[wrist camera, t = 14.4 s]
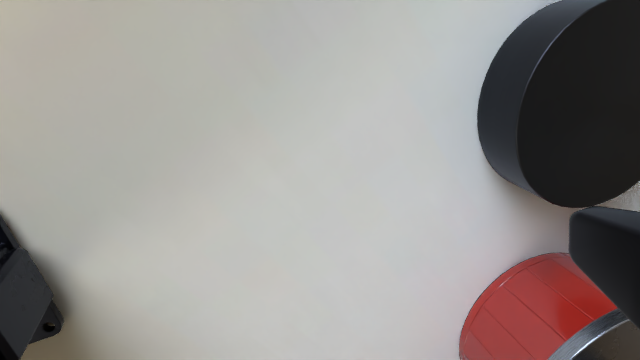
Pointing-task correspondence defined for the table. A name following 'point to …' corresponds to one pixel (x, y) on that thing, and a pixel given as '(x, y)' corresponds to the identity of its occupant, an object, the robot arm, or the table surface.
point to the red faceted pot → (532, 310)
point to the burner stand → (567, 103)
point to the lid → (603, 340)
